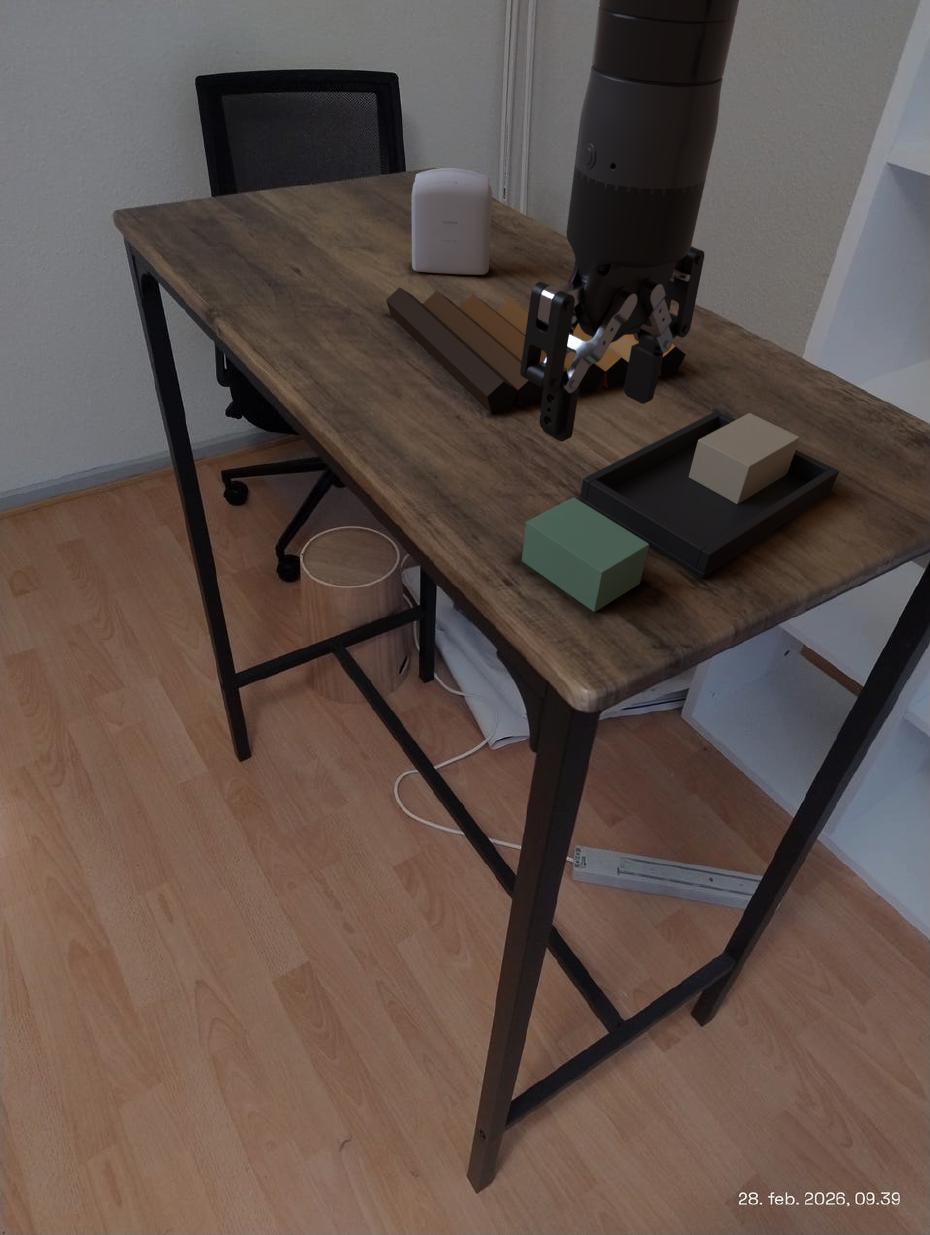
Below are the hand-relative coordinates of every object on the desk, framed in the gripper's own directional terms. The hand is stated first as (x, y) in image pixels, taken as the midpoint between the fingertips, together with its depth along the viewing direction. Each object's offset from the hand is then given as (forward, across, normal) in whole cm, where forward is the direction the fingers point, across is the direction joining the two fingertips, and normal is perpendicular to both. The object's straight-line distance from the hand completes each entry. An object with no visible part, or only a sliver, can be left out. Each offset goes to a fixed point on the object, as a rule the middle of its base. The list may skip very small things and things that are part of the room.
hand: (598, 416), depth 60 cm
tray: (+14, +18, 0) cm, 22 cm away
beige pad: (+14, +22, 0) cm, 26 cm away
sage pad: (+14, 0, 0) cm, 14 cm away
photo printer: (+14, +34, +54) cm, 65 cm away
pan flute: (+14, +26, +32) cm, 44 cm away
